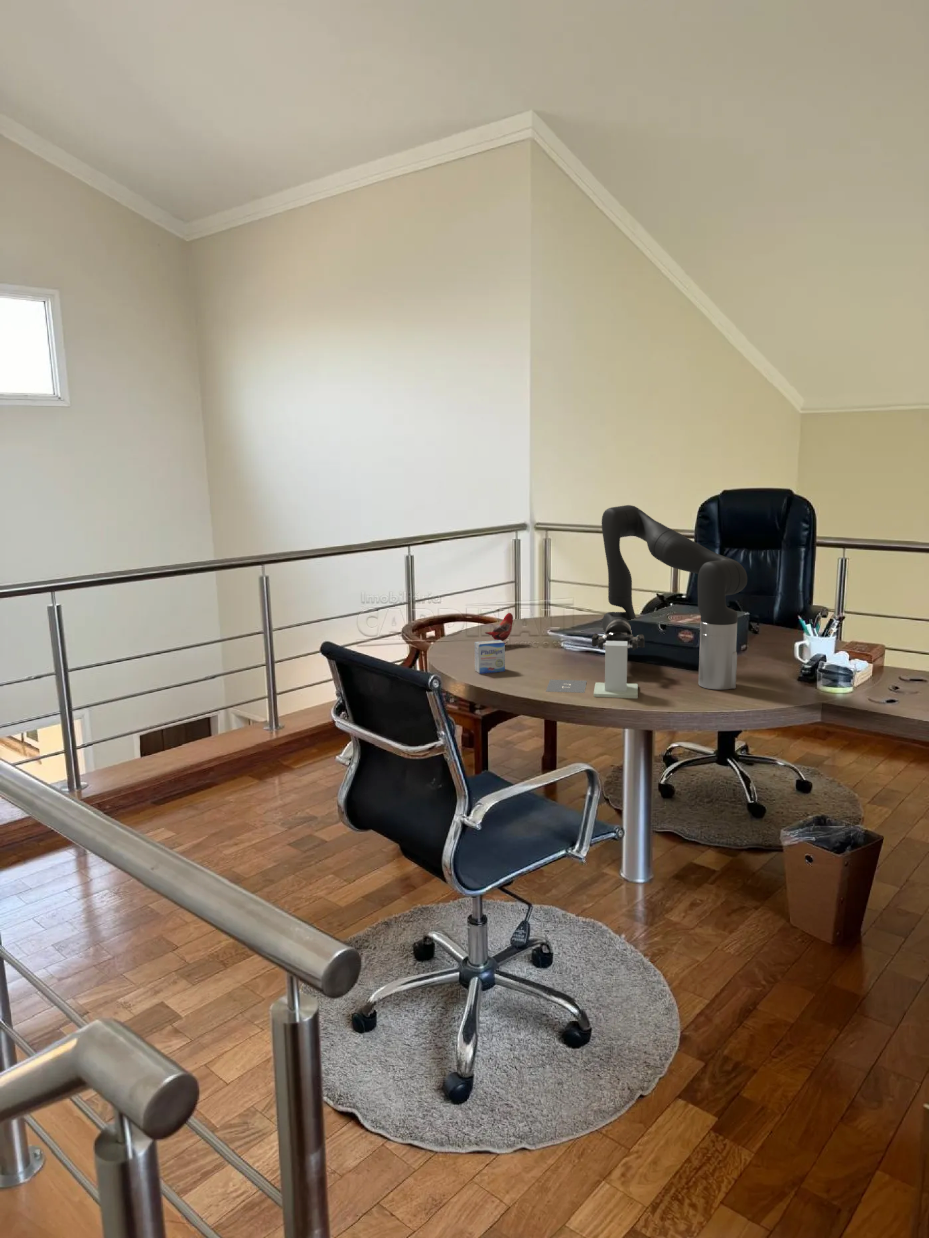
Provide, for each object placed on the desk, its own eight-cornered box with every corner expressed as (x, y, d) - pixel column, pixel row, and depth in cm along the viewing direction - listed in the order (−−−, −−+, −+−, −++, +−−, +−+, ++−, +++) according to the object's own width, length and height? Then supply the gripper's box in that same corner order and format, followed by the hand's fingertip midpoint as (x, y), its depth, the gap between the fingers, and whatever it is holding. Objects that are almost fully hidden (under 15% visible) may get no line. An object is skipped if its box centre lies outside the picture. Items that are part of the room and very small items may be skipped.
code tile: (586, 681, 236) (586, 680, 236) (584, 693, 224) (584, 692, 224) (550, 680, 238) (550, 679, 238) (545, 692, 226) (545, 691, 226)
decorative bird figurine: (517, 641, 287) (516, 612, 285) (489, 652, 272) (488, 621, 270) (509, 640, 288) (509, 611, 286) (481, 651, 274) (480, 620, 272)
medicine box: (478, 674, 246) (478, 644, 244) (474, 670, 250) (474, 641, 248) (505, 671, 248) (505, 642, 246) (500, 668, 252) (500, 639, 250)
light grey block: (626, 686, 227) (627, 641, 225) (626, 691, 222) (627, 645, 219) (605, 685, 228) (606, 640, 226) (604, 691, 223) (605, 645, 220)
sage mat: (637, 687, 229) (637, 683, 229) (637, 699, 218) (637, 695, 218) (595, 686, 231) (595, 682, 231) (593, 697, 221) (593, 693, 220)
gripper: (593, 621, 250) (591, 632, 235) (644, 621, 248) (644, 633, 232) (593, 646, 252) (590, 659, 236) (643, 647, 249) (644, 660, 233)
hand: (617, 646), depth 234 cm, fingers open, 8 cm apart
